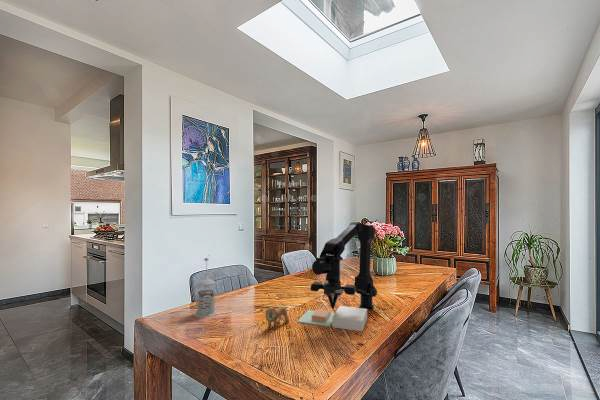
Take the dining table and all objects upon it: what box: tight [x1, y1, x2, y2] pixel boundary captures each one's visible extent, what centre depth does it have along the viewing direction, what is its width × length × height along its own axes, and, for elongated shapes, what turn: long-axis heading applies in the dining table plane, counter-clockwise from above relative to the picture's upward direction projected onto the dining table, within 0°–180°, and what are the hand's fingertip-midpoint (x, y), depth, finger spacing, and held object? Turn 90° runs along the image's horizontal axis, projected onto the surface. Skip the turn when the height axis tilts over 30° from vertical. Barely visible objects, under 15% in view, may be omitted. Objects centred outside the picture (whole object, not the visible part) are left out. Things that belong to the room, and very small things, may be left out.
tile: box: [312, 308, 332, 322], centre depth 131 cm, size 9×6×2 cm, turn 160°
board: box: [331, 305, 368, 332], centre depth 126 cm, size 15×12×4 cm
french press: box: [190, 257, 218, 319], centre depth 136 cm, size 10×12×25 cm
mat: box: [296, 309, 336, 328], centre depth 131 cm, size 15×14×1 cm
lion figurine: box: [265, 306, 290, 330], centre depth 123 cm, size 15×5×9 cm, turn 154°
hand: (333, 308), depth 129 cm, fingers closed
